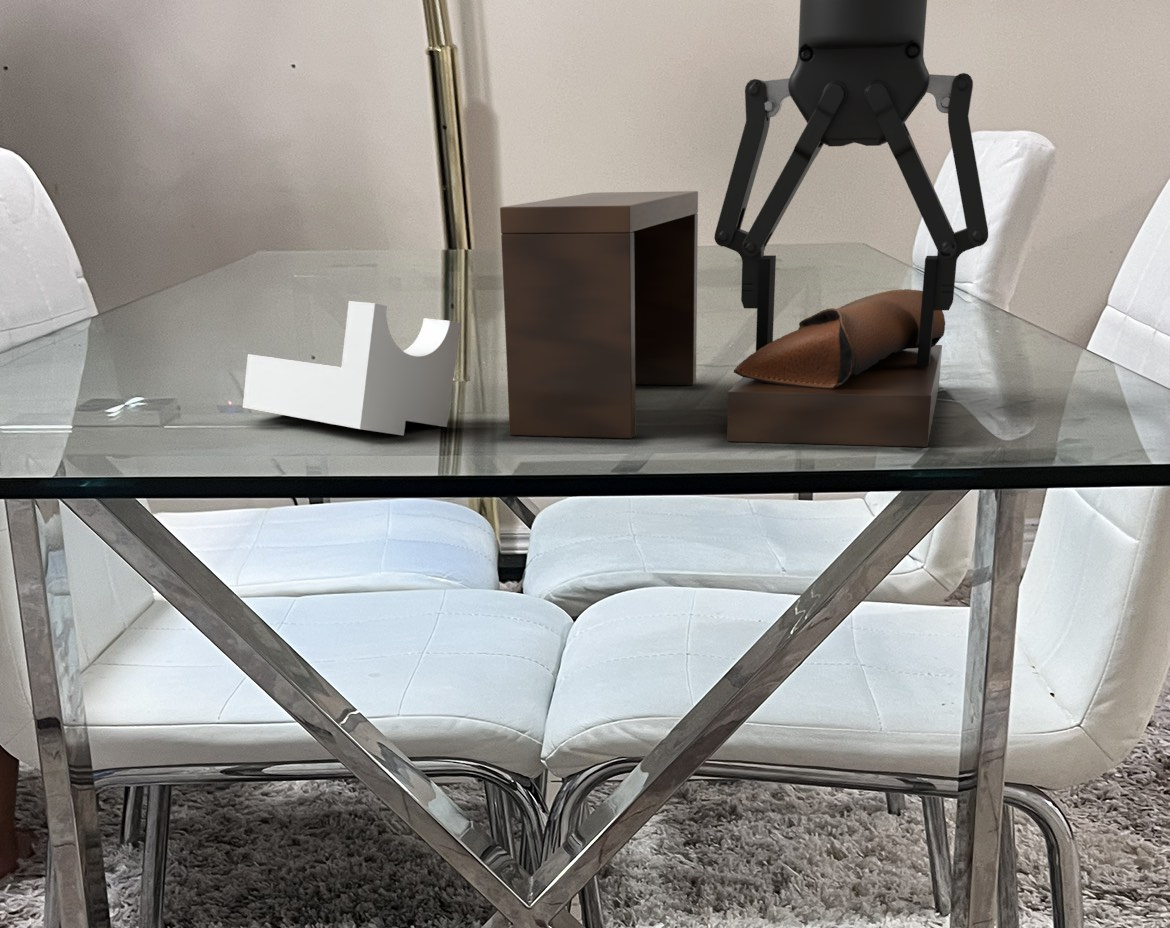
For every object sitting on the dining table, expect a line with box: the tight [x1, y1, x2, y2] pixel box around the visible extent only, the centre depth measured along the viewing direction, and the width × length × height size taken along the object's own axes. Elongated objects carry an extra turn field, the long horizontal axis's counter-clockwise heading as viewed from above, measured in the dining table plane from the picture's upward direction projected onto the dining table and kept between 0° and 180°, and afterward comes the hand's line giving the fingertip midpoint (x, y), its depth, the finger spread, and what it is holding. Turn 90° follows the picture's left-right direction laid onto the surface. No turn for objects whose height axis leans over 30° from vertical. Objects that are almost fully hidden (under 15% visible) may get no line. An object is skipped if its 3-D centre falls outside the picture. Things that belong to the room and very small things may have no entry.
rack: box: [499, 190, 943, 448], centre depth 93 cm, size 26×22×14 cm
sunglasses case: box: [733, 288, 946, 389], centre depth 92 cm, size 18×7×7 cm, turn 150°
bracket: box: [242, 300, 462, 436], centre depth 93 cm, size 13×7×8 cm, turn 46°
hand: (842, 361), depth 93 cm, fingers open, 10 cm apart
